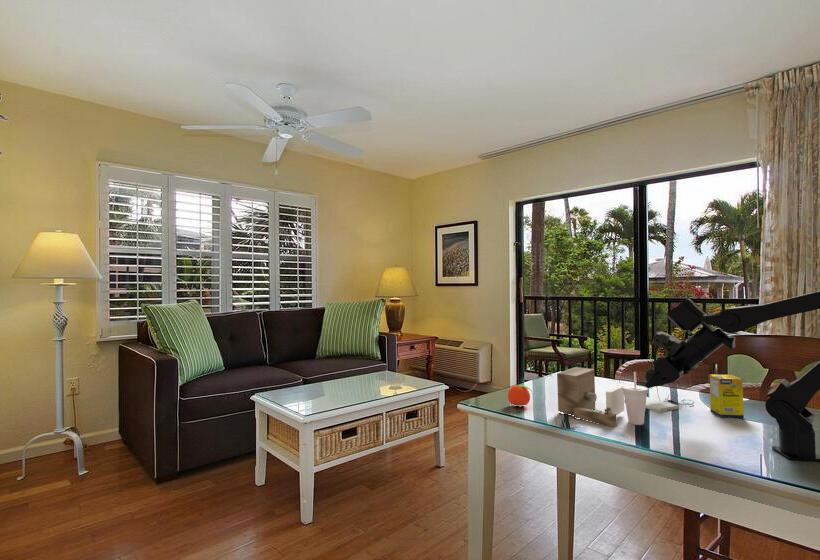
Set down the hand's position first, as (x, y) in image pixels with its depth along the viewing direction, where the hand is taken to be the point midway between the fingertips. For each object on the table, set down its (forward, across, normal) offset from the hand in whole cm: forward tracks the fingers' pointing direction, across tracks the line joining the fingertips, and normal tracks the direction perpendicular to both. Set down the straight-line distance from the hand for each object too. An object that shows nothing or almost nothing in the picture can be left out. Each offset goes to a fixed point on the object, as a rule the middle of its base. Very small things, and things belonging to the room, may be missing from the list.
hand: (652, 383), depth 115 cm
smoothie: (+11, 0, +5) cm, 12 cm away
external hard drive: (+13, -20, +4) cm, 25 cm away
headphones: (+10, -27, +6) cm, 30 cm away
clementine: (+34, +7, -17) cm, 38 cm away
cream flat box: (+14, +1, 0) cm, 14 cm away
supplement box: (0, -24, +17) cm, 29 cm away
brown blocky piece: (+19, +1, -3) cm, 19 cm away
